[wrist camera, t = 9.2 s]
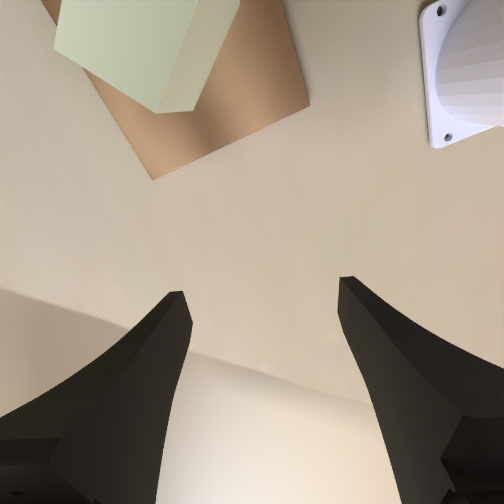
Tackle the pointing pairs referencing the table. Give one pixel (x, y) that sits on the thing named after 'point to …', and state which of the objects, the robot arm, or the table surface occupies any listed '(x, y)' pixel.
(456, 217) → the table surface
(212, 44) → the product carton
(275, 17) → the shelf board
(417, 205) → the table surface
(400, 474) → the robot arm
